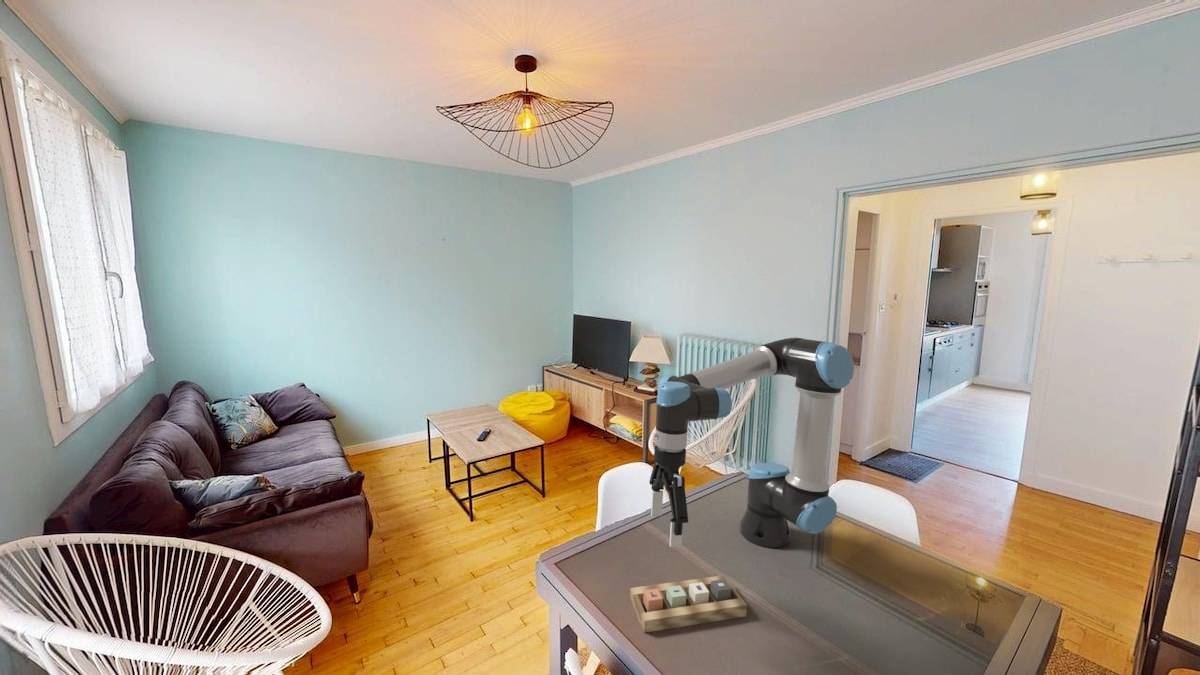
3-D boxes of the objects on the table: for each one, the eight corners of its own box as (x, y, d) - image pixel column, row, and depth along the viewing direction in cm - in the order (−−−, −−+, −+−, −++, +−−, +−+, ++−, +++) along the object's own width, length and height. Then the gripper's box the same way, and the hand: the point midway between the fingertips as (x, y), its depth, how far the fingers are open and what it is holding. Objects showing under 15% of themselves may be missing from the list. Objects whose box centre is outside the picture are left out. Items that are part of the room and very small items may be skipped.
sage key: (679, 597, 110) (680, 584, 110) (685, 607, 107) (686, 594, 106) (666, 599, 110) (666, 586, 109) (671, 609, 106) (672, 596, 106)
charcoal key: (723, 590, 113) (724, 578, 113) (730, 600, 110) (731, 588, 109) (710, 592, 112) (711, 580, 112) (717, 602, 109) (718, 590, 108)
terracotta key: (656, 600, 109) (657, 588, 109) (662, 610, 106) (662, 598, 105) (643, 602, 108) (643, 590, 108) (648, 613, 105) (648, 600, 104)
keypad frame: (723, 585, 117) (724, 575, 117) (746, 616, 107) (746, 604, 106) (629, 599, 111) (630, 588, 111) (644, 632, 101) (644, 620, 100)
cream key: (701, 593, 112) (702, 581, 111) (708, 603, 108) (709, 591, 108) (688, 595, 111) (689, 583, 111) (694, 606, 107) (695, 593, 107)
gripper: (640, 429, 117) (636, 505, 120) (674, 469, 93) (668, 562, 96) (667, 429, 119) (662, 503, 121) (707, 467, 95) (701, 559, 97)
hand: (665, 529), depth 109 cm, fingers open, 13 cm apart
